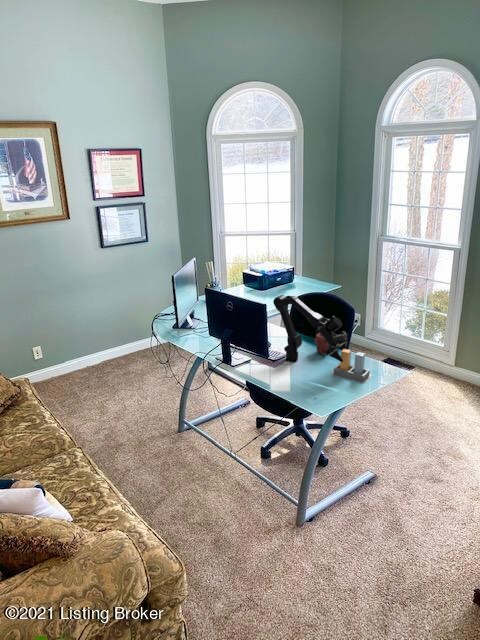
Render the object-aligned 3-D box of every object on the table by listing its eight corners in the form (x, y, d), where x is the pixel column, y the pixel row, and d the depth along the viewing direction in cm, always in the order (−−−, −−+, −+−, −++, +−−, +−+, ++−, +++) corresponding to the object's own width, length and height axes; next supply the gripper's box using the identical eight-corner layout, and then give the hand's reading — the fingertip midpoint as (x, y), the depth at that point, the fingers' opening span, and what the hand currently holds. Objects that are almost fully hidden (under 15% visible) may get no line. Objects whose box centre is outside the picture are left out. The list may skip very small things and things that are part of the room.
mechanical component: (329, 349, 292) (331, 355, 283) (313, 349, 292) (315, 355, 283) (330, 330, 288) (333, 336, 278) (314, 330, 288) (316, 336, 278)
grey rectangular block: (351, 376, 255) (353, 354, 251) (355, 372, 259) (357, 351, 255) (361, 379, 253) (363, 356, 248) (364, 375, 257) (366, 353, 252)
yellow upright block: (338, 372, 260) (339, 351, 255) (342, 369, 264) (343, 348, 259) (347, 375, 257) (348, 353, 252) (350, 371, 261) (352, 350, 256)
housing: (329, 374, 259) (330, 368, 258) (338, 366, 268) (339, 360, 267) (364, 384, 248) (365, 378, 247) (372, 375, 258) (373, 369, 256)
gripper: (331, 333, 247) (349, 357, 245) (345, 323, 261) (363, 345, 259) (317, 343, 254) (334, 367, 252) (331, 333, 268) (348, 355, 266)
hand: (345, 358), depth 257 cm, fingers open, 9 cm apart
